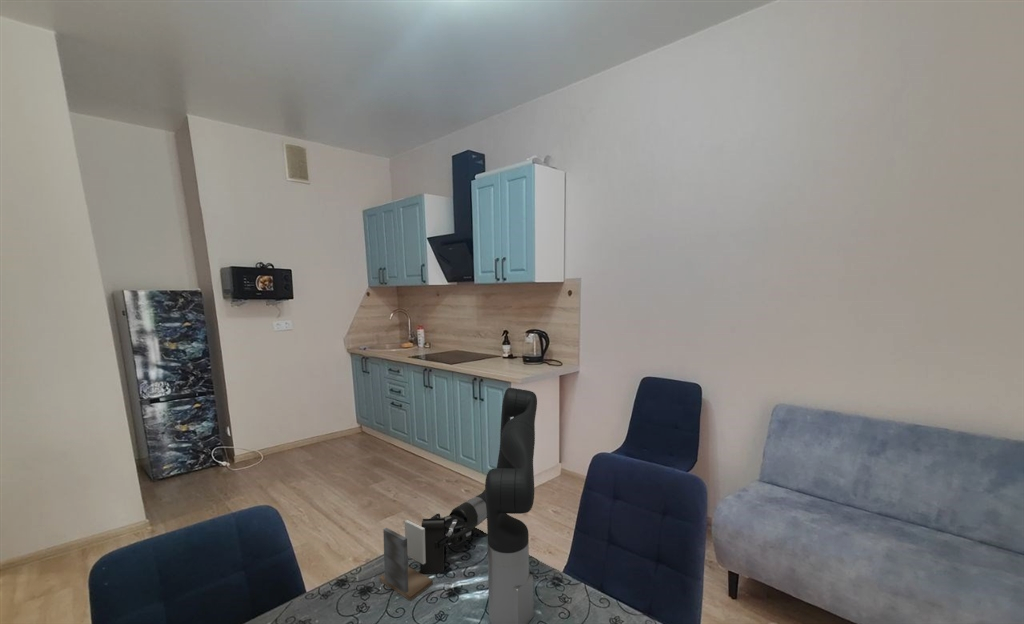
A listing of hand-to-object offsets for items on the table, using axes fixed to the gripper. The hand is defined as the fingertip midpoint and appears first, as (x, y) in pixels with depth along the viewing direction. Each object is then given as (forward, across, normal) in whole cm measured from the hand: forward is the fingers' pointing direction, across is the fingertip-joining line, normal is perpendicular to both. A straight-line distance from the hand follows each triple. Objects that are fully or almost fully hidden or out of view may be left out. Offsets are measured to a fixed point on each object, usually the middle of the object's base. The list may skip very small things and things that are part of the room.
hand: (427, 541), depth 108 cm
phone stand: (-2, 0, +7) cm, 8 cm away
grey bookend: (+7, 0, +7) cm, 10 cm away
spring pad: (+4, -1, +6) cm, 7 cm away
